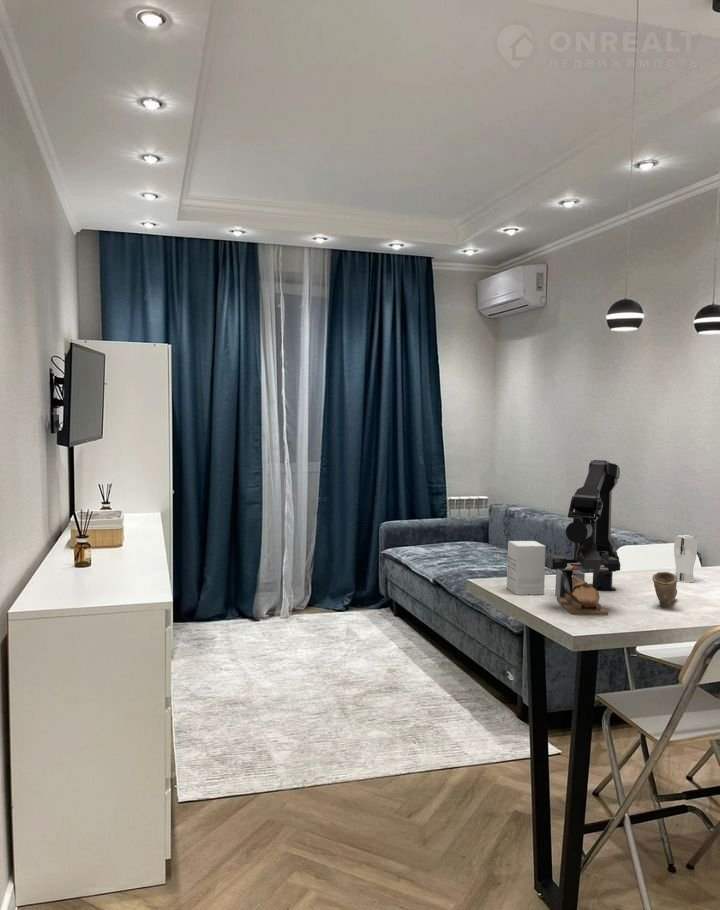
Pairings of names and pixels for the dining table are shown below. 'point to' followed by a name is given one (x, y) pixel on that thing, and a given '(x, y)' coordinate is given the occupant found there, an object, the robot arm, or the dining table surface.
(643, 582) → the dining table surface
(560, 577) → the valve block
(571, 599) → the pipe cradle
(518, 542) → the supplement box
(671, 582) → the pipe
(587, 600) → the tan rounded oblong piece
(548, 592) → the dining table surface
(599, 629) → the dining table surface
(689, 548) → the beer glass
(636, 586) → the dining table surface
